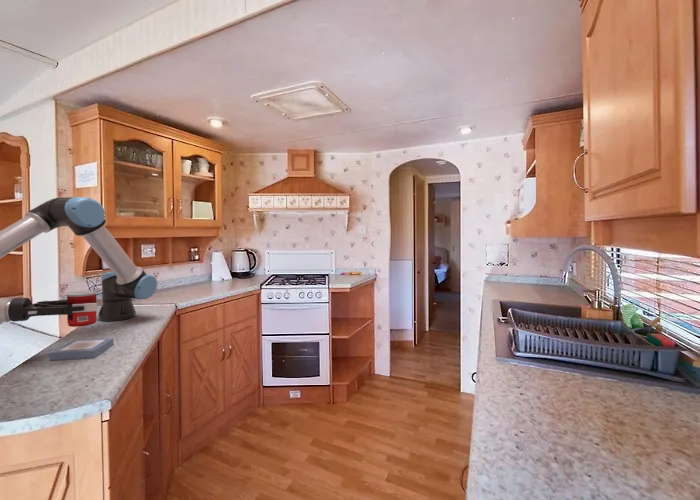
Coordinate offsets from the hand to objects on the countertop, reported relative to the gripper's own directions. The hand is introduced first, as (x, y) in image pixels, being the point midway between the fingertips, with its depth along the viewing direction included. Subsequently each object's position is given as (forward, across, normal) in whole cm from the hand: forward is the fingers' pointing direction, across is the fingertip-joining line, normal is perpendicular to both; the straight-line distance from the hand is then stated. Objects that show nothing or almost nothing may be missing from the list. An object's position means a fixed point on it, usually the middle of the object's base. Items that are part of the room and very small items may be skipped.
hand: (99, 304), depth 116 cm
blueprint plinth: (-5, 0, -17) cm, 17 cm away
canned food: (-5, 0, -7) cm, 8 cm away
